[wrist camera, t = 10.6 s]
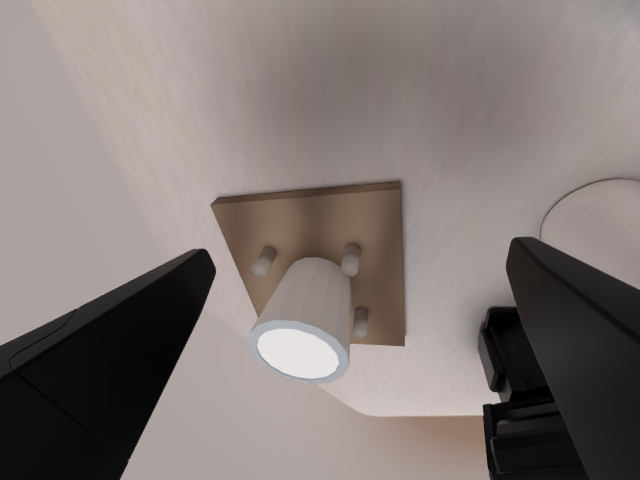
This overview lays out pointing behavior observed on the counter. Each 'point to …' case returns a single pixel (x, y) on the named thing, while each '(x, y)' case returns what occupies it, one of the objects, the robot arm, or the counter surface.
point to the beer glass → (599, 227)
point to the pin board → (324, 248)
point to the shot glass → (306, 324)
